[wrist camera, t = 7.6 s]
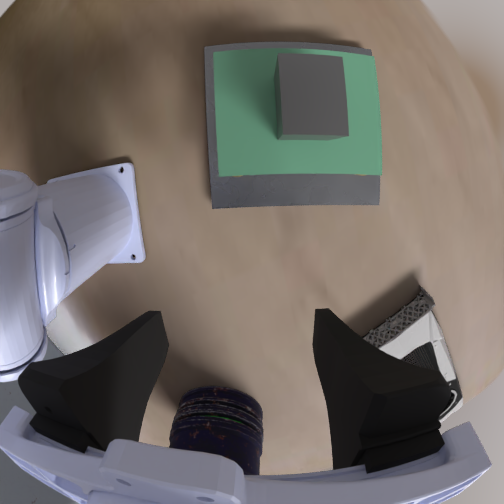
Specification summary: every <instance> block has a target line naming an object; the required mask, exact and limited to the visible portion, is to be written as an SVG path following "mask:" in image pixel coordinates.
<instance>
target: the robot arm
mask: <svg viewBox="0 0 504 504" xmlns="http://www.w3.org/2000/svg"><path fill="white" fill-rule="evenodd" d="M121 167H123V169H124V172H123V173H122V172H121V171H120V169H121ZM132 254H134V255H135V256H136V259H135V258H133V256H132ZM145 258H146V255H145V249H144V243H143V237H142V231H141V224H140V217H139V209H138V201H137V193H136V183H135V173H134V166H133V164H132V163H129V162H128V163H121V164H116V165H111V166H106V167H101V168H96V169H91V170H87V171H82V172H78V173H74V174H70V175H66V176H62V177H58V178H54V179H50V180H48V182H47V184H44V185H40V186H37V185H36V184H35V183H34V182H33V181H32V180H31V179H30V178H29V177H28V176H27V175H26V174H25V173H22V172H19V171H13V170H2V169H0V382H9V381H14V380H17V379H18V384H19V387H20V389H21V391H22V393H23V394H24V396H25V397H26V399H27V400H28V402H29V403H30V404H31V406H32V407H33V409H34V410H35V411H36V414H35V415H34V417H33V416H32V415H31V414H30V413H28V412H27V411H25V410H23V409H21V408H19V407H17V406H14V407H13V408H12V409H11V411H10V412H9V414H8V415H7V416H6V418H5V419H4V421H3V422H2V423H1V425H0V448H1V449H2V450H3V451H4V452H5V453H6V454H7V455H8V456H9V457H10V458H11V459H12V460H13V461H14V462H15V463H16V464H17V465H18V466H19V467H20V468H21V469H23V470H24V471H26V472H27V473H29V474H30V475H32V476H33V477H35V478H36V479H38V480H40V481H41V482H43V483H44V484H46V485H48V486H49V487H51V488H53V489H54V490H56V491H58V492H59V493H61V494H63V495H65V496H66V497H68V498H70V499H72V500H74V501H76V502H78V503H80V504H440V503H442V502H444V501H446V500H448V499H450V498H452V497H454V496H455V495H458V494H459V493H461V492H462V491H463V490H464V489H466V488H467V487H468V486H470V485H471V484H472V483H473V482H474V481H476V480H477V479H478V478H479V477H480V476H481V475H483V474H484V473H485V472H486V471H487V470H488V469H489V468H490V467H491V465H492V464H491V462H490V460H489V457H488V455H487V454H486V451H485V449H484V447H483V445H482V444H481V442H480V440H479V438H478V436H477V434H476V432H475V430H474V429H473V427H472V425H471V423H470V422H466V423H463V424H462V425H459V426H457V427H454V428H452V429H450V430H448V431H446V432H445V433H443V434H442V435H441V434H440V432H439V430H438V429H439V428H440V427H441V423H440V421H439V419H438V418H439V416H440V415H441V413H442V412H443V410H444V408H445V407H446V405H447V403H448V401H449V399H450V397H451V388H450V386H449V384H448V383H447V381H446V380H445V378H444V376H443V375H442V374H441V372H440V371H437V370H432V369H428V368H424V367H420V366H417V365H414V364H411V363H408V362H405V361H403V360H400V359H398V358H396V357H394V356H391V355H389V354H387V353H385V352H384V351H382V350H380V349H378V348H377V347H375V346H373V345H372V344H370V343H369V342H367V341H366V340H364V339H363V338H362V337H360V336H359V335H358V334H357V333H355V332H354V331H353V330H352V329H350V328H349V327H348V326H347V325H346V324H345V323H344V322H343V321H341V320H340V319H339V318H338V317H337V316H336V315H335V314H334V313H333V312H332V311H331V310H330V309H329V308H326V309H315V321H314V333H313V352H314V359H315V364H316V368H317V371H318V375H319V378H320V382H321V385H322V389H323V393H324V396H325V400H326V405H327V410H328V418H329V425H330V434H331V444H332V457H333V470H329V471H321V472H312V473H302V474H287V475H244V473H243V470H242V469H241V467H240V466H239V465H238V464H237V463H236V462H234V461H233V460H230V459H228V458H225V457H223V456H221V455H215V454H210V453H205V452H197V451H189V450H181V449H174V448H168V447H162V446H156V445H151V444H146V443H141V442H138V441H139V435H140V430H141V426H142V421H143V417H144V413H145V409H146V406H147V402H148V400H149V397H150V394H151V392H152V390H153V387H154V385H155V383H156V380H157V378H158V376H159V374H160V371H161V369H162V367H163V364H164V362H165V358H166V355H167V351H168V347H169V343H168V340H167V336H166V332H165V328H164V324H163V319H162V315H161V311H148V312H146V313H144V314H143V315H141V316H139V317H138V318H136V319H135V320H133V321H132V322H130V323H129V324H127V325H126V326H124V327H123V328H121V329H120V330H118V331H117V332H115V333H113V334H112V335H110V336H108V337H107V338H105V339H103V340H101V341H99V342H98V343H96V344H93V345H91V346H89V347H87V348H85V349H82V350H79V351H77V352H74V353H71V354H68V355H65V356H62V357H58V358H54V359H49V360H43V358H44V356H45V354H46V350H47V345H48V338H47V331H46V328H45V327H46V326H47V325H48V324H49V323H50V322H51V321H52V320H53V319H54V318H55V317H56V308H57V306H58V305H59V303H60V302H61V301H62V300H63V299H65V298H66V297H67V296H68V295H69V294H70V293H71V292H73V291H74V290H75V289H76V288H77V287H78V286H80V285H81V284H82V283H83V282H84V281H86V280H87V279H88V278H89V277H90V276H92V275H93V274H94V273H95V272H97V271H98V270H99V269H100V268H102V267H103V266H104V265H105V264H107V263H141V262H143V261H144V260H145ZM42 360H43V361H42Z"/></svg>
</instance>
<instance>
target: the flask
mask: <svg viewBox="0 0 504 504" xmlns="http://www.w3.org/2000/svg"><path fill="white" fill-rule="evenodd" d="M47 338H48V345H47V350H46V354H45V356H44V358H43V360H49V359H54V358H58V357H62V356H64V355H63V354H62V353H61V351H60V350H59V349H58V348H57V347H56V346H55V345H54V344H53V342H52V341H51V340H50V339H49V337H48V336H47ZM43 360H42V361H43ZM14 406H17V407H19V408H21V409H23V410H25V411H27V412H28V413H30V414H31V415H32V416H33V417H34V415H35V414H36V411H35V410H34V409H33V407H32V406H31V404H30V403H29V402H28V400H27V399H26V397H25V396H24V394H23V393H22V391H21V389H20V387H19V384H18V379H17V380H14V381H9V382H0V425H1V423H2V422H3V421H4V419H5V418H6V416H7V415H8V414H9V412H10V411H11V409H12V408H13V407H14ZM0 504H80V503H78V502H76V501H74V500H72V499H70V498H68V497H66V496H65V495H63V494H61V493H59V492H58V491H56V490H54V489H53V488H51V487H49V486H48V485H46V484H44V483H43V482H41V481H40V480H38V479H36V478H35V477H33V476H32V475H30V474H29V473H27V472H26V471H24V470H23V469H21V468H20V467H19V466H18V465H17V464H16V463H15V462H14V461H13V460H12V459H11V458H10V457H9V456H8V455H7V454H6V453H5V452H4V451H3V450H2V449H1V448H0Z"/></svg>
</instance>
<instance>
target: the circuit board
mask: <svg viewBox="0 0 504 504" xmlns="http://www.w3.org/2000/svg"><path fill="white" fill-rule="evenodd" d="M213 62H214V91H215V114H216V134H217V152H218V169H219V177H224V176H241V175H262V174H362V175H382V138H381V117H380V104H379V92H378V83H377V74H376V67H375V60H374V56H368V55H362V54H355V53H347V52H339V51H329V50H316V49H295V48H264V49H243V50H230V51H220V52H213Z"/></svg>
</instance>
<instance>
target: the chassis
mask: <svg viewBox="0 0 504 504" xmlns="http://www.w3.org/2000/svg"><path fill="white" fill-rule="evenodd" d="M264 48H295V49H316V50H329V51H339V52H347V53H355V54H362V55H368V56H372V52H371V50H370V49H364V48H357V47H350V46H343V45H334V44H323V43H308V42H249V43H234V44H223V45H214V46H206V47H204V54H205V91H206V116H207V136H208V153H209V169H210V184H211V197H212V209H218V208H237V207H260V206H293V205H379V199H380V175H362V174H262V175H241V176H224V177H219V169H218V152H217V134H216V114H215V91H214V62H213V52H220V51H230V50H243V49H264Z"/></svg>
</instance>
